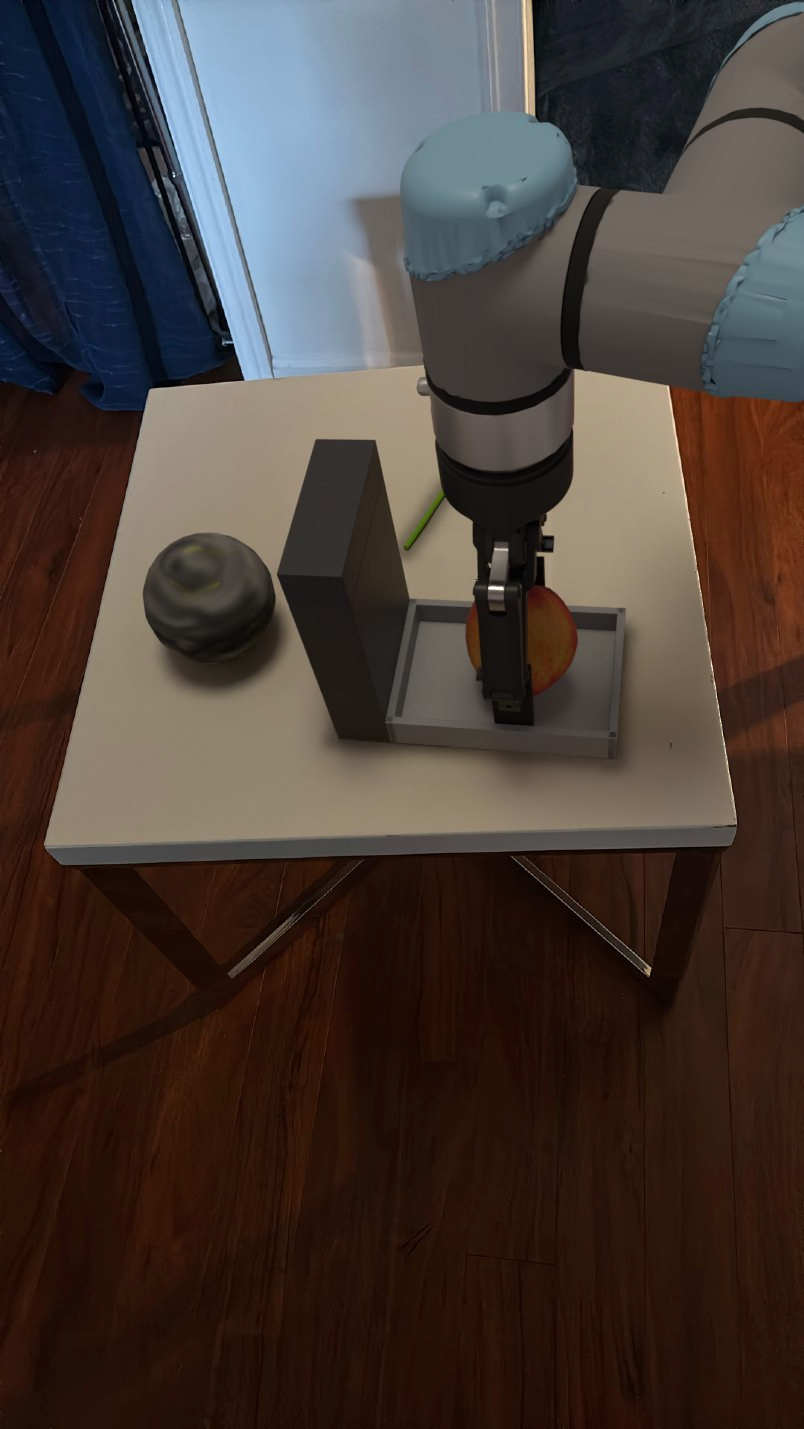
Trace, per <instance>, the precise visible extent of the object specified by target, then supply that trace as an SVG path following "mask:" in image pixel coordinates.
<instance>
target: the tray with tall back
mask: <svg viewBox="0 0 804 1429" xmlns="http://www.w3.org/2000/svg"><path fill="white" fill-rule="evenodd" d="M276 576H277V579H278V581H279V584H280V587H281V590H282V592H283V595H284V598H285V601H286V603H287V605H288V608H289V611H290V613H291V616H292V619H293V621H294V624H295V627H296V629H297V632H298V636H299V638H300V640H301V643H302V645H303V648H304V651H305V653H306V657H307V659H308V662H309V664H310V667H311V669H312V672H313V675H314V678H315V680H316V683H317V685H318V688H319V691H320V693H321V696H322V698H323V702H324V704H325V706H326V709H327V712H328V714H329V717H330V720H331V722H332V726H333V728H334V730H335V733H336V736H337V738H338V739H341V740H342V739H343V740H355V741H356V740H357V741H369V742H385V743H396V744H411V745H422V746H423V745H424V746H438V747H452V748H465V749H466V748H467V749H477V750H478V749H480V750H491V751H493V750H494V751H506V752H521V753H535V754H544V755H545V754H548V755H559V756H560V755H561V756H573V757H574V756H575V757H585V758H586V757H587V758H588V757H590V758H600V759H601V758H602V759H611V760H613V759H615V760H616V758H617V748H618V735H619V734H618V733H619V718H620V706H621V705H620V703H621V687H622V674H623V659H624V645H625V632H626V631H625V630H626V618H627V617H626V615H627V608H626V607H611V606H589V605H588V606H587V605H569V604H568V605H567V604H566V606H567V607H568V609H569V611H570V613H571V615H572V618H573V621H574V623H575V626H576V629H577V636H578V644H577V649H576V653H575V656H574V659H573V661H572V664H571V665H570V667H569V668H568V670H567V671H566V672H565V673H564V674H563V676H562V677H561V678H560V679H559V680H558V681H556V682H555V683H554V684H553V685H552V686H551V687H549V688H548V689H546V690H545V691H544V692H542V693H540V694H537V695H535V696H533V704H534V725H533V726H527V725H513V724H498V723H494V714H493V706H492V701H490V700H484V698H483V694H482V687H483V684H482V682H481V681H476V674H477V672H476V671H475V669H474V667H473V665H472V663H471V661H470V658H469V655H468V651H467V645H466V638H465V631H466V622H467V618H468V615H469V612H470V609H471V607H472V604H473V602H474V600H453V599H452V600H451V599H433V598H430V599H429V598H411V597H410V593H409V590H408V589H409V588H408V583H407V580H406V575H405V571H404V566H403V561H402V556H401V552H400V547H399V543H398V537H397V533H396V529H395V523H394V519H393V515H392V511H391V506H390V501H389V496H388V492H387V487H386V482H385V478H384V473H383V468H382V462H381V458H380V454H379V449H378V444H377V441H376V439H348V438H347V439H344V438H343V439H341V438H334V439H333V438H329V439H328V438H316V439H315V440H314V443H313V447H312V450H311V454H310V457H309V461H308V464H307V467H306V472H305V475H304V478H303V482H302V484H301V488H300V492H299V495H298V499H297V503H296V505H295V509H294V512H293V516H292V520H291V523H290V526H289V530H288V533H287V537H286V540H285V543H284V547H283V551H282V554H281V558H280V561H279V564H278V568H277V572H276Z"/></svg>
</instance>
